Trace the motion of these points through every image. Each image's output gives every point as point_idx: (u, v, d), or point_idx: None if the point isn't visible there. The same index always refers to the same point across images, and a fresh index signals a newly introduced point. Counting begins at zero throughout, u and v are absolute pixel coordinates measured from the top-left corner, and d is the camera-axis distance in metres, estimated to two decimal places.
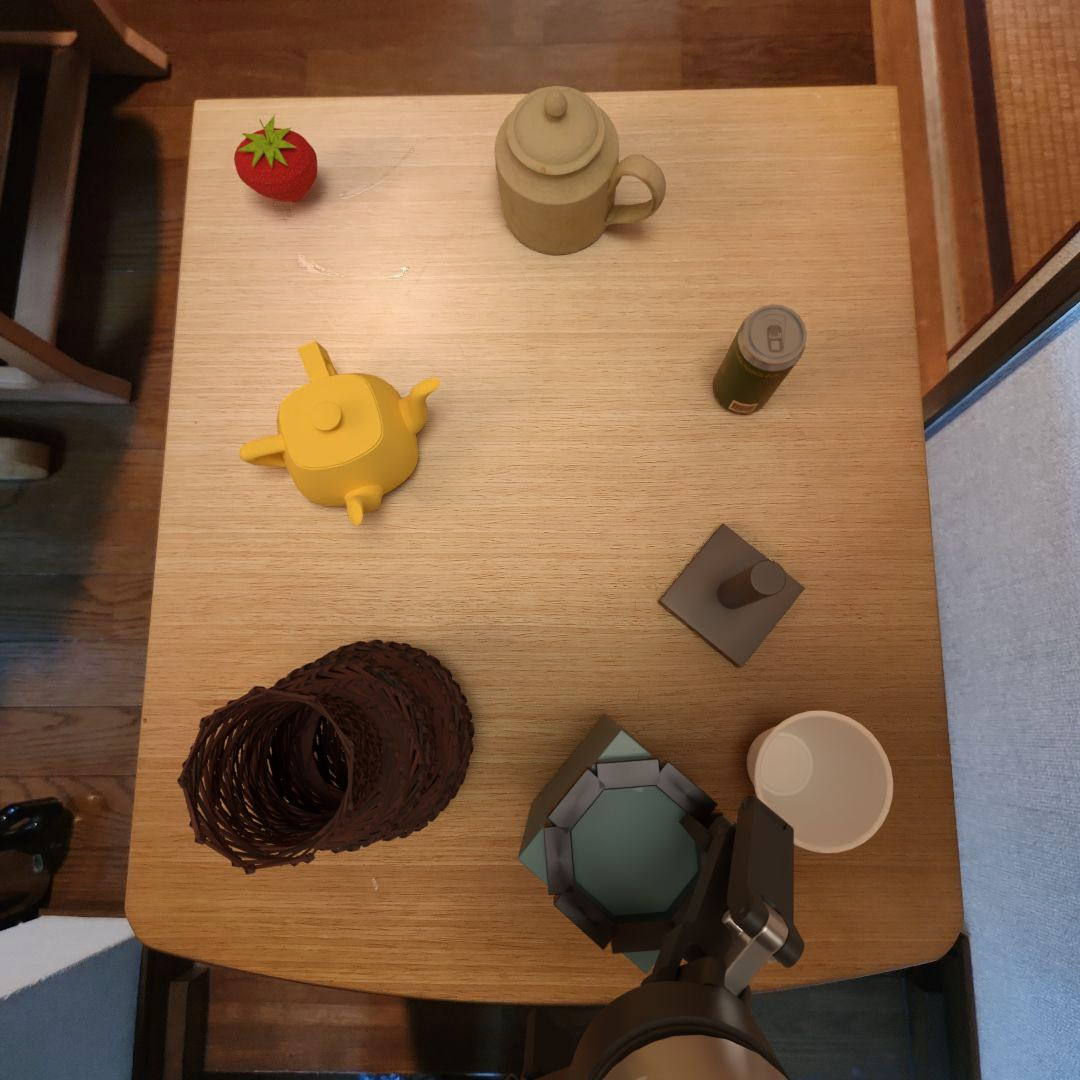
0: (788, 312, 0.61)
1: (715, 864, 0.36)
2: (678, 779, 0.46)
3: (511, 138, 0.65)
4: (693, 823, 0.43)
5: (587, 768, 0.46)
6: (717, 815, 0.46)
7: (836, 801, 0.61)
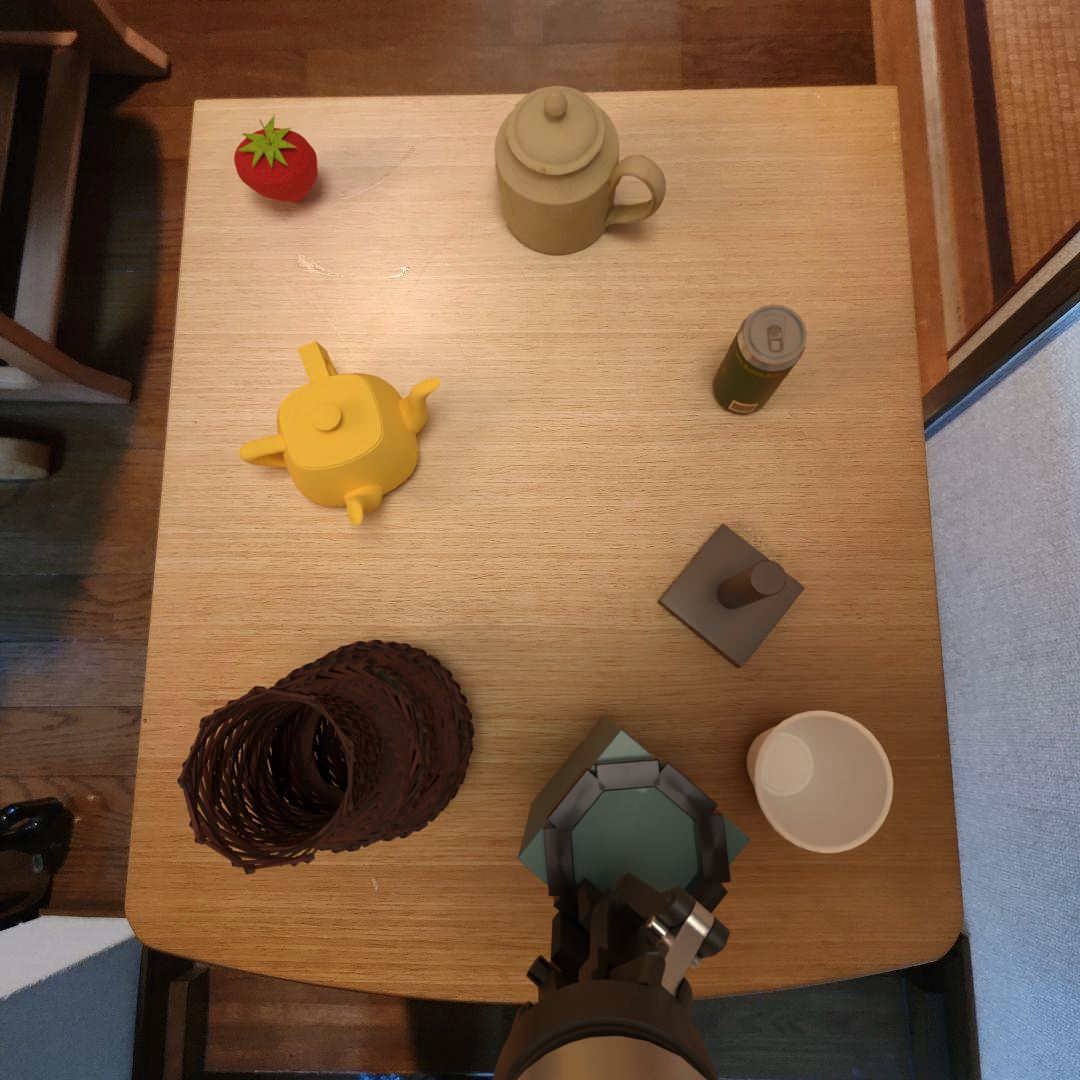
0: (788, 312, 0.61)
1: (607, 919, 0.36)
2: (678, 780, 0.46)
3: (511, 138, 0.65)
4: (584, 893, 0.43)
5: (587, 769, 0.46)
6: (717, 816, 0.45)
7: (836, 801, 0.61)
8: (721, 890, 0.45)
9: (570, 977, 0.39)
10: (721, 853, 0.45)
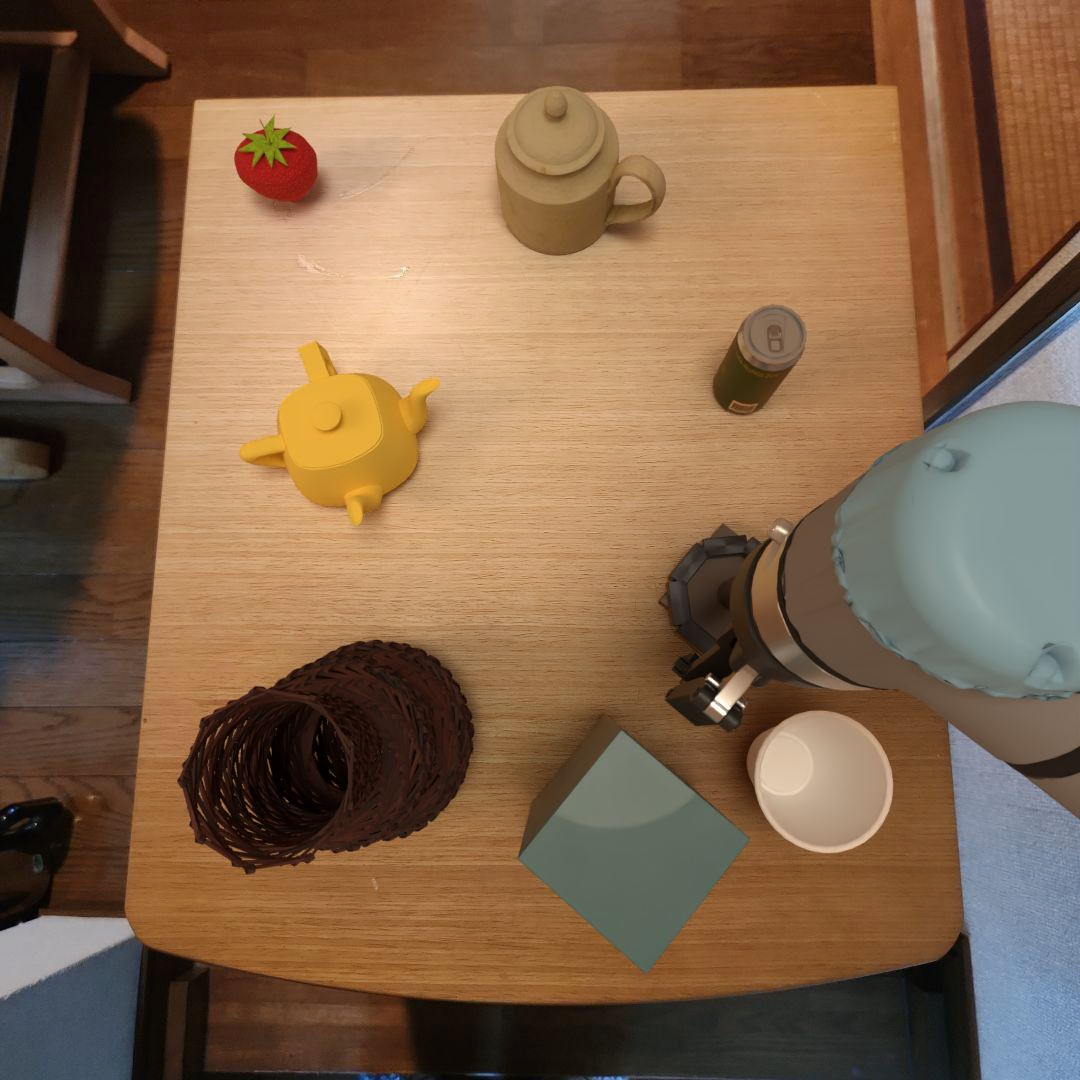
0: (788, 312, 0.61)
1: None
2: None
3: (511, 138, 0.65)
4: None
5: (696, 542, 0.67)
6: None
7: (836, 801, 0.61)
8: None
9: None
10: None
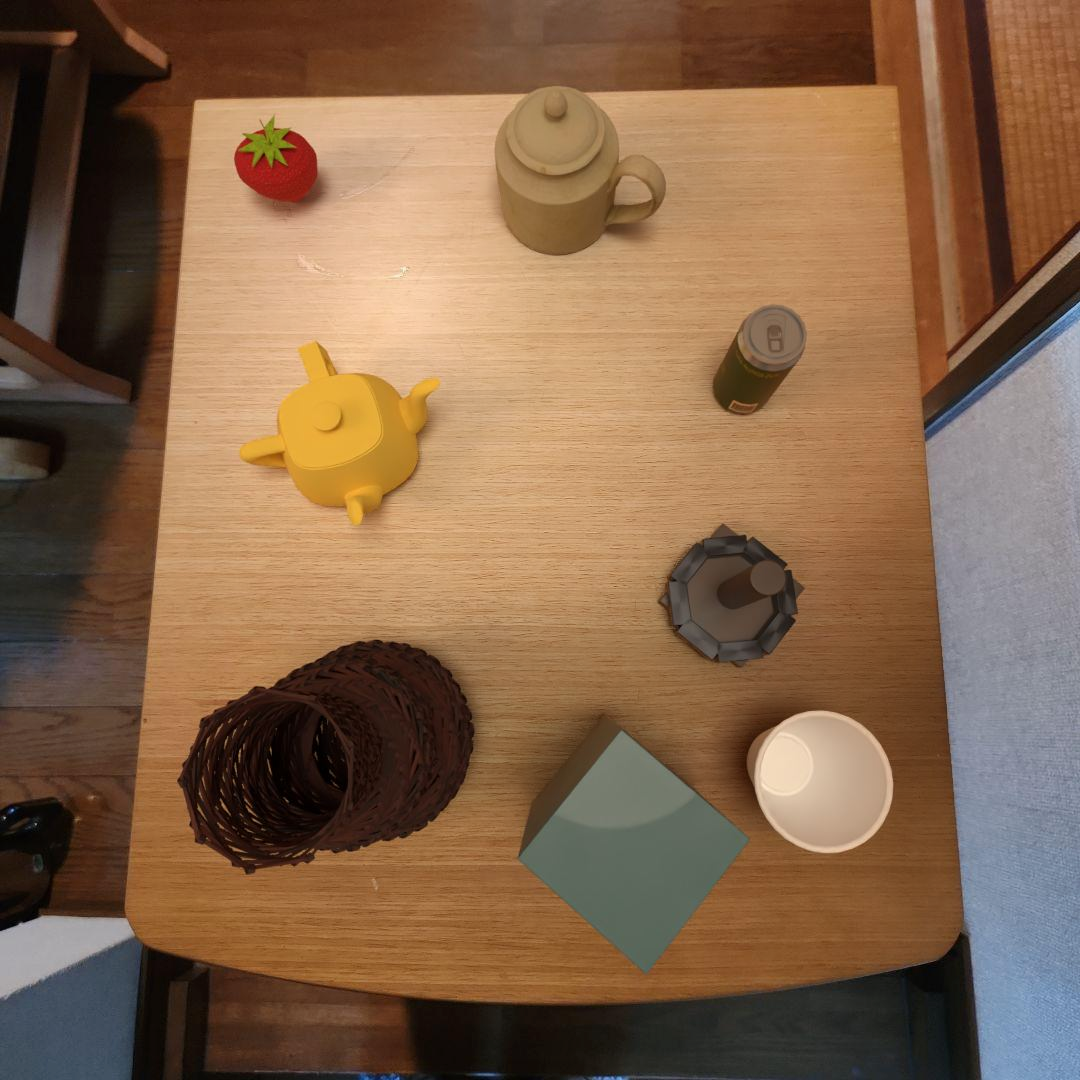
0: (788, 312, 0.61)
1: None
2: (760, 548, 0.67)
3: (511, 138, 0.65)
4: None
5: (696, 542, 0.67)
6: (787, 571, 0.66)
7: (836, 801, 0.61)
8: (791, 619, 0.66)
9: None
10: (791, 595, 0.66)
